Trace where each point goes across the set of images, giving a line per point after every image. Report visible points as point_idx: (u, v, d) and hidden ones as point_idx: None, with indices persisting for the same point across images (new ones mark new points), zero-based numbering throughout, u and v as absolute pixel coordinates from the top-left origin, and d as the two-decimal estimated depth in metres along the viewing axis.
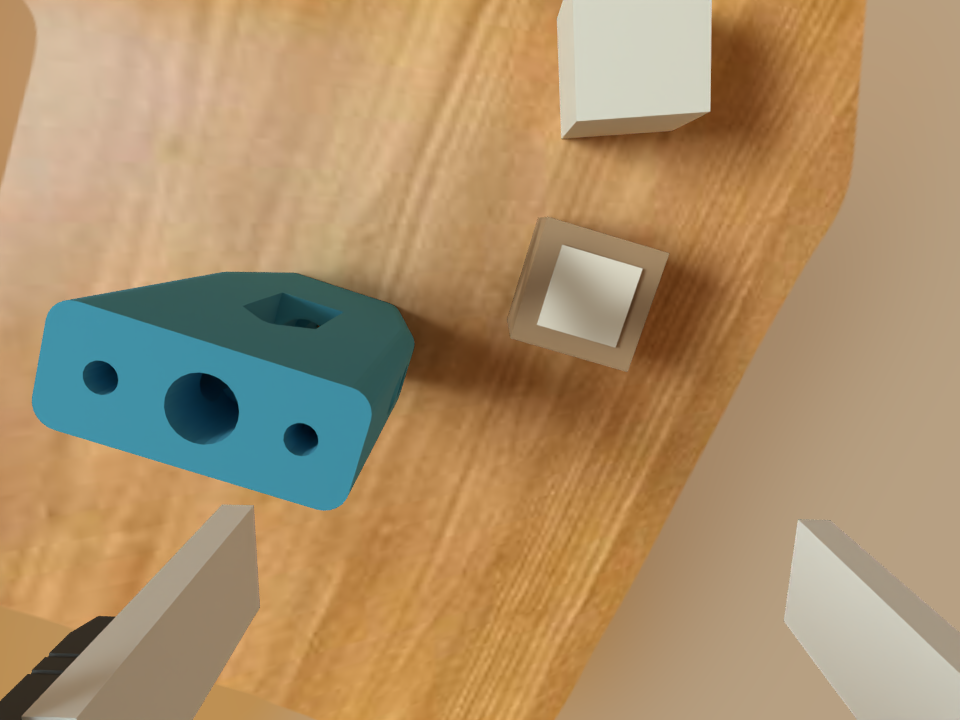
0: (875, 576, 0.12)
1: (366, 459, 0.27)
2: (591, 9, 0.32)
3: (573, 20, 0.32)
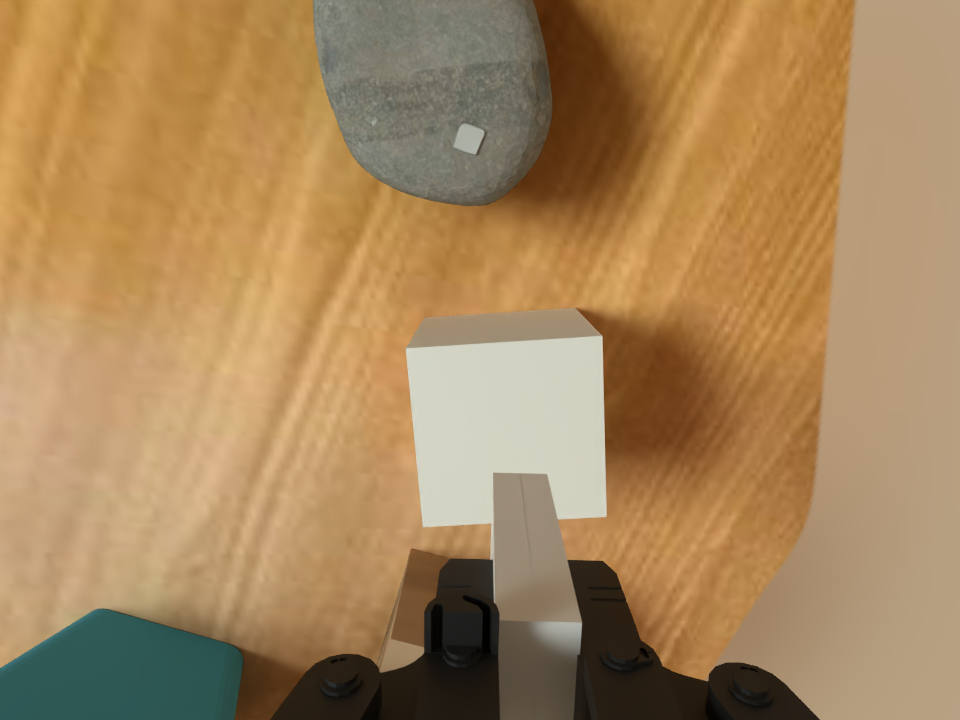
0: (539, 513, 0.15)
1: None
2: (435, 391, 0.23)
3: (412, 403, 0.23)
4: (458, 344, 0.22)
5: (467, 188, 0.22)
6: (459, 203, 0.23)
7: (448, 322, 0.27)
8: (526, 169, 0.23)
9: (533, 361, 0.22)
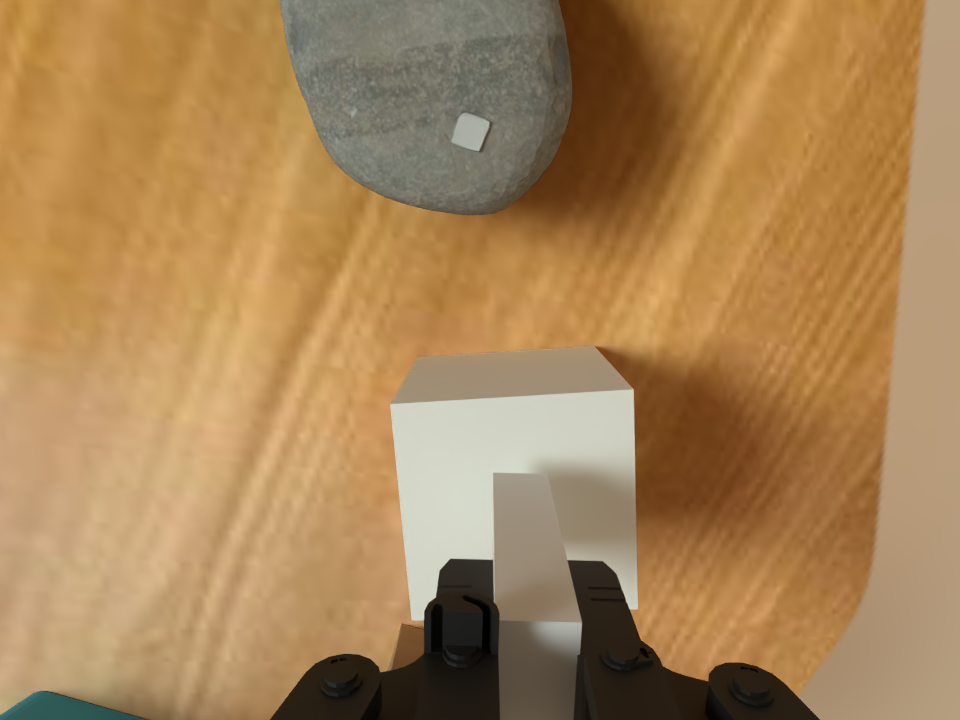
0: (539, 513, 0.15)
1: None
2: (426, 456, 0.18)
3: (398, 471, 0.19)
4: (455, 399, 0.18)
5: (469, 194, 0.18)
6: (459, 212, 0.19)
7: (445, 364, 0.23)
8: (541, 170, 0.19)
9: (547, 419, 0.18)
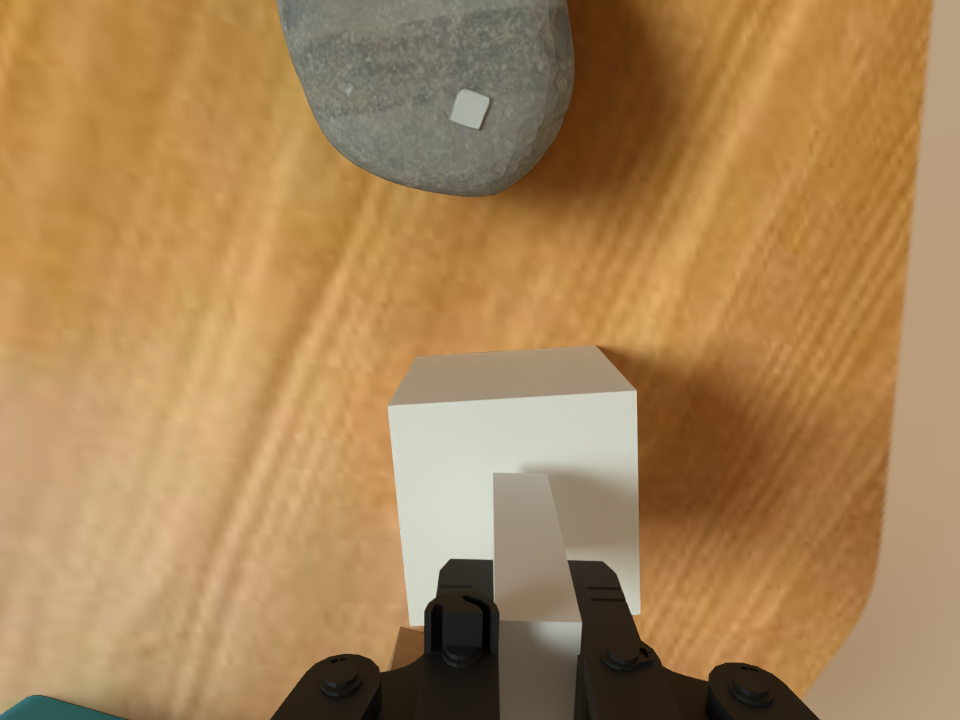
0: (539, 513, 0.15)
1: None
2: (424, 459, 0.18)
3: (396, 474, 0.18)
4: (454, 401, 0.18)
5: (469, 173, 0.18)
6: (458, 193, 0.18)
7: (443, 364, 0.22)
8: (542, 149, 0.18)
9: (548, 421, 0.18)
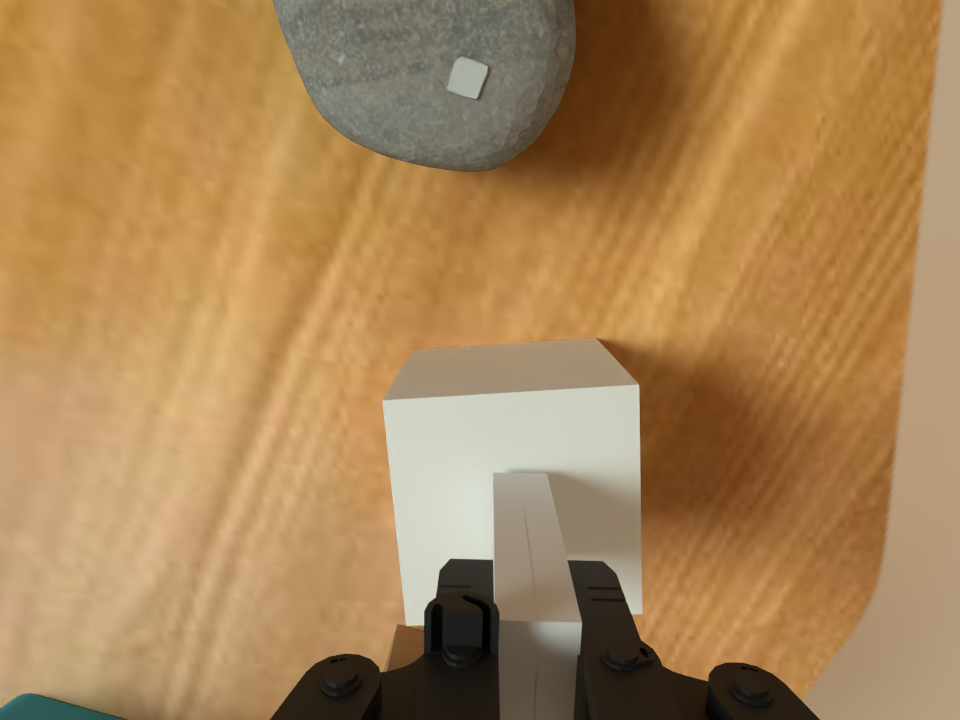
0: (539, 513, 0.15)
1: None
2: (420, 455, 0.17)
3: (391, 470, 0.18)
4: (451, 395, 0.17)
5: (467, 146, 0.17)
6: (456, 167, 0.18)
7: (440, 358, 0.22)
8: (543, 121, 0.17)
9: (548, 416, 0.17)
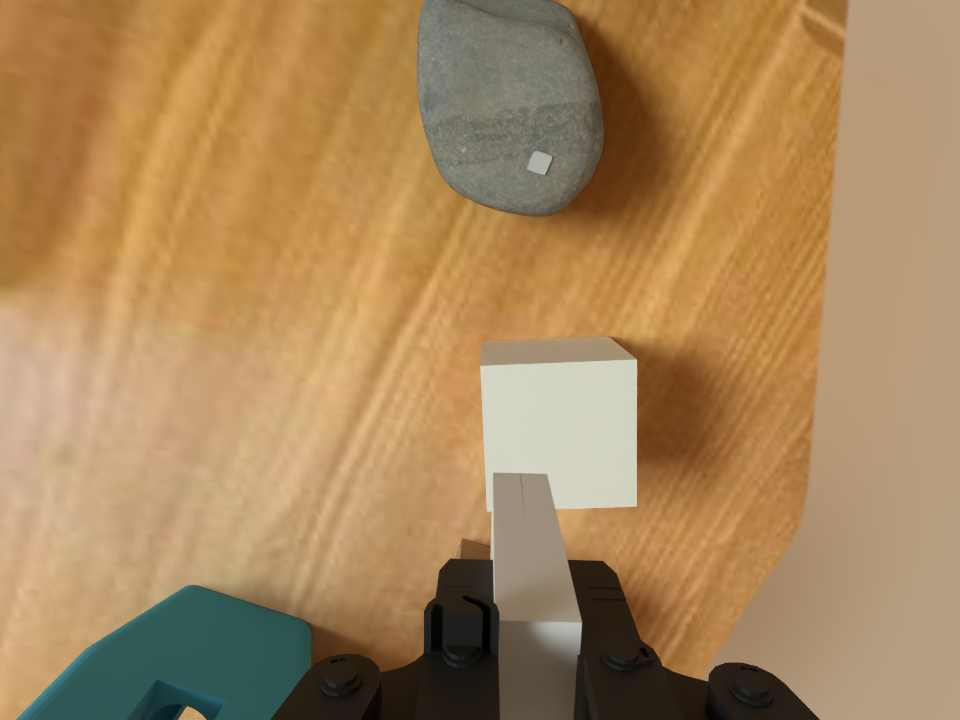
0: (539, 513, 0.15)
1: None
2: (502, 400, 0.28)
3: None
4: (522, 364, 0.28)
5: (537, 202, 0.28)
6: (529, 214, 0.29)
7: (505, 346, 0.33)
8: (583, 187, 0.28)
9: (581, 378, 0.28)
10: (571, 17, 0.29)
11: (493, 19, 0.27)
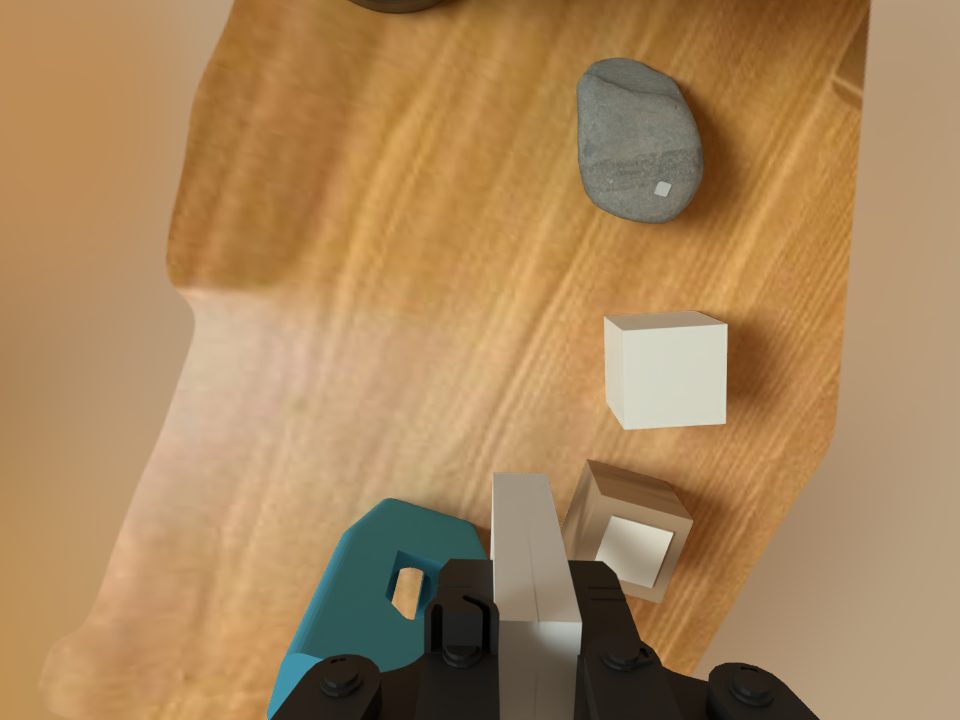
0: (539, 513, 0.15)
1: None
2: (636, 354, 0.42)
3: (623, 360, 0.42)
4: (650, 328, 0.42)
5: (659, 214, 0.42)
6: (652, 222, 0.42)
7: (624, 318, 0.47)
8: None
9: (690, 337, 0.42)
10: (676, 85, 0.43)
11: (630, 94, 0.40)
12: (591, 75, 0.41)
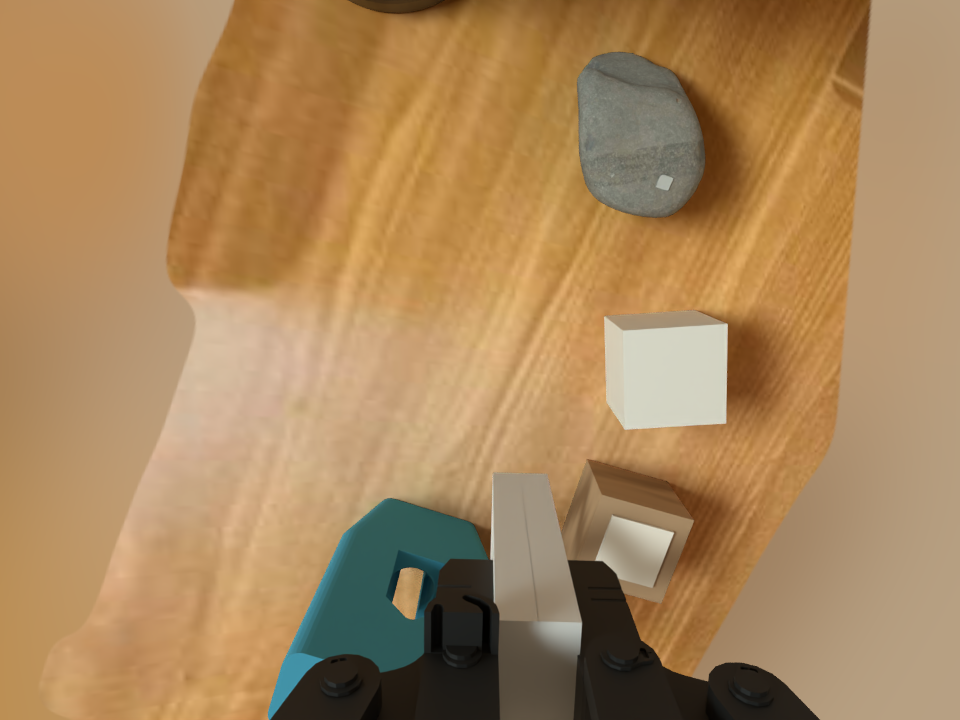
0: (539, 513, 0.15)
1: None
2: (636, 354, 0.42)
3: (623, 360, 0.42)
4: (650, 328, 0.42)
5: (661, 208, 0.42)
6: (654, 216, 0.42)
7: (625, 318, 0.47)
8: (691, 196, 0.42)
9: (690, 337, 0.42)
10: (677, 79, 0.43)
11: (631, 87, 0.40)
12: (591, 69, 0.41)
